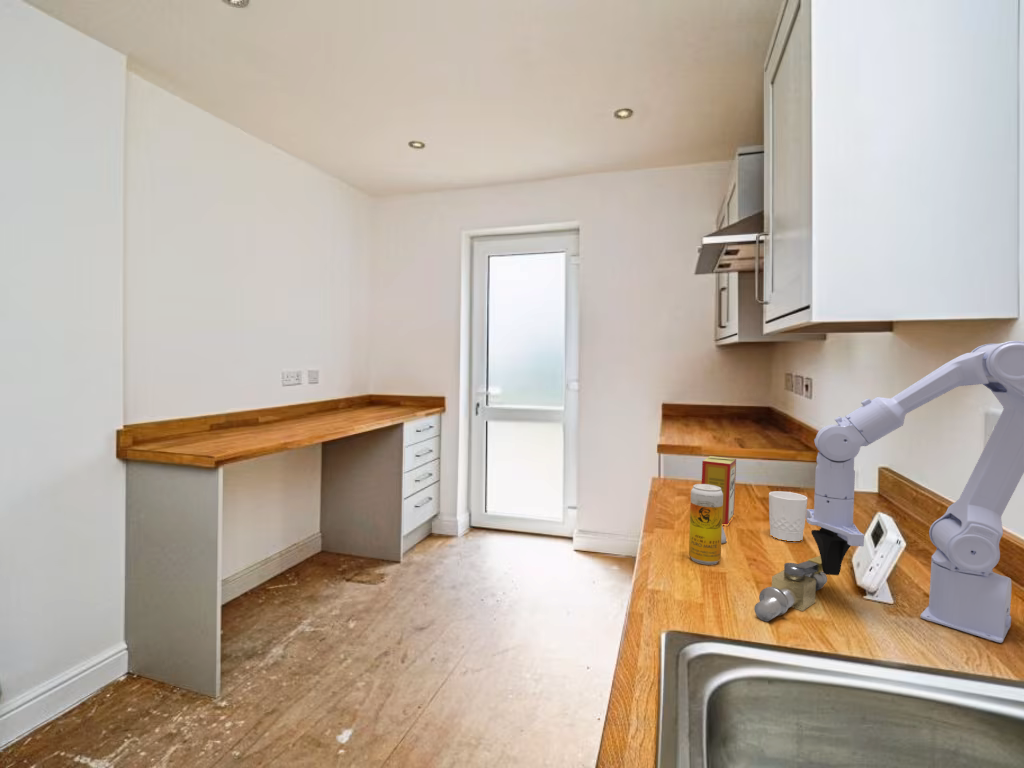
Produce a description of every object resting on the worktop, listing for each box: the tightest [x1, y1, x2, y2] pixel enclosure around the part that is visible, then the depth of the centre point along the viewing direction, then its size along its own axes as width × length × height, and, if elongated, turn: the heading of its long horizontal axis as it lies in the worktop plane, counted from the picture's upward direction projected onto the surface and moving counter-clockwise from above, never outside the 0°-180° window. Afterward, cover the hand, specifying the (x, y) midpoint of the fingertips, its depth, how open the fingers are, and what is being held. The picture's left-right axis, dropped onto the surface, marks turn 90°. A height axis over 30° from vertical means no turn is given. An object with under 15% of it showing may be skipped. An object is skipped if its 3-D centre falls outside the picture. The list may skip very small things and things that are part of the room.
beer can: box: [688, 483, 723, 566], centre depth 104 cm, size 6×6×15 cm
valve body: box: [754, 569, 828, 622], centre depth 86 cm, size 5×22×4 cm, turn 130°
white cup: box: [768, 490, 808, 541], centre depth 119 cm, size 8×8×10 cm
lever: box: [783, 555, 823, 580], centre depth 89 cm, size 14×3×2 cm, turn 121°
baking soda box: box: [701, 455, 737, 524], centre depth 132 cm, size 10×6×16 cm
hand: (830, 573), depth 88 cm, fingers closed, pressing on lever
